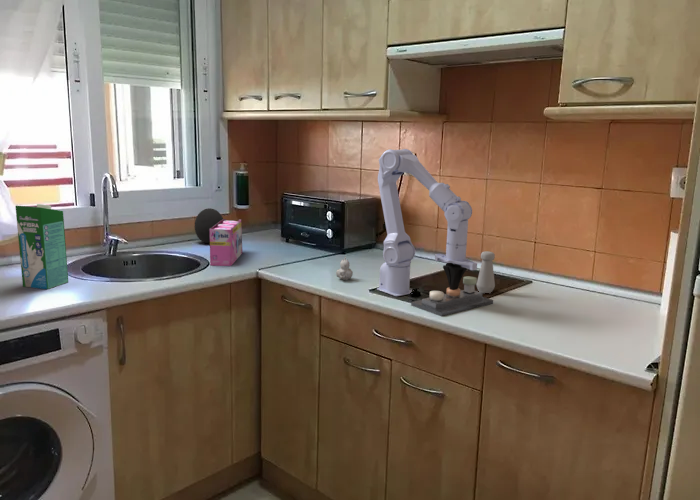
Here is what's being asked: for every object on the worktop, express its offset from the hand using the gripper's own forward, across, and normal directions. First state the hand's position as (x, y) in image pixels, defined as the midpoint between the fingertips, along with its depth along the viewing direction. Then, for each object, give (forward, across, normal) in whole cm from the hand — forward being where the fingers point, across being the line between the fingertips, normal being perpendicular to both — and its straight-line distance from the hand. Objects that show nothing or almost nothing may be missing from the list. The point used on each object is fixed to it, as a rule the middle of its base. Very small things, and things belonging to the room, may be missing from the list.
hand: (453, 289), depth 171 cm
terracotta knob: (+4, 0, 0) cm, 4 cm away
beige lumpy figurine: (+5, -40, -10) cm, 41 cm away
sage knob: (+2, 0, +7) cm, 7 cm away
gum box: (+5, -88, -29) cm, 93 cm away
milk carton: (+5, -84, -92) cm, 125 cm away
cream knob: (+4, 0, -7) cm, 8 cm away
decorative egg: (+5, -118, -22) cm, 121 cm away
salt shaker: (+5, -4, +19) cm, 20 cm away
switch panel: (+5, 0, 0) cm, 5 cm away
